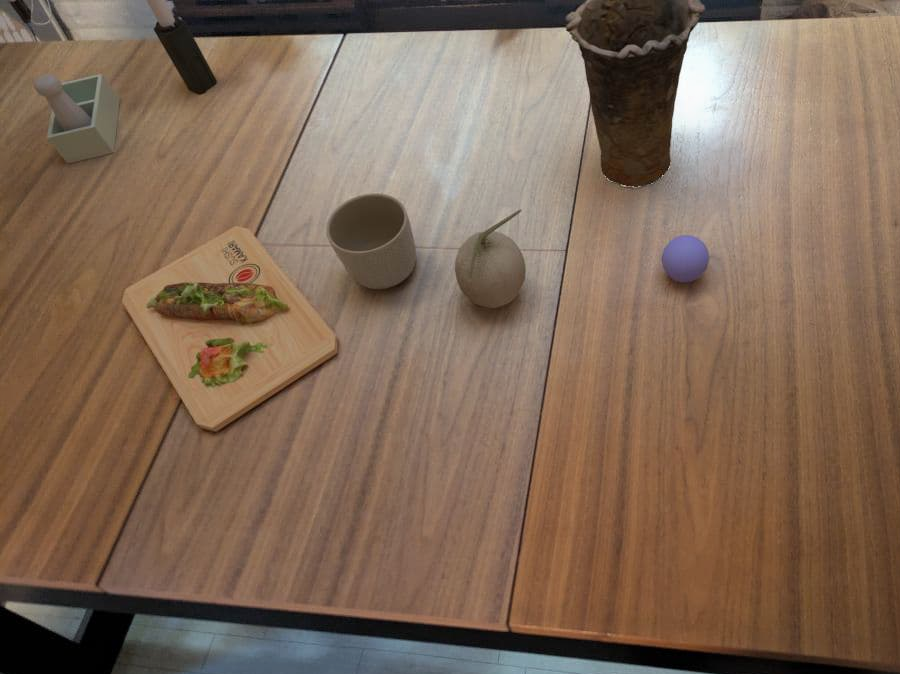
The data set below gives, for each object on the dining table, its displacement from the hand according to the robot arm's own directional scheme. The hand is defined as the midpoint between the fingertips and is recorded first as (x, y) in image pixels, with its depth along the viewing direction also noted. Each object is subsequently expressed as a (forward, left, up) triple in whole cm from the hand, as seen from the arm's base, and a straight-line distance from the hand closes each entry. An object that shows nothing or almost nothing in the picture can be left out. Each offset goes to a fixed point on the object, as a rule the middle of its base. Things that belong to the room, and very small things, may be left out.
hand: (3, 26), depth 120 cm
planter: (+53, -53, -24) cm, 79 cm away
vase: (+98, -42, -24) cm, 109 cm away
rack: (0, +4, -24) cm, 24 cm away
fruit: (+69, -64, -24) cm, 97 cm away
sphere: (+98, -69, -24) cm, 122 cm away
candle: (+22, +11, -24) cm, 35 cm away
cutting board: (+27, -56, -24) cm, 66 cm away
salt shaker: (0, 0, -23) cm, 23 cm away
